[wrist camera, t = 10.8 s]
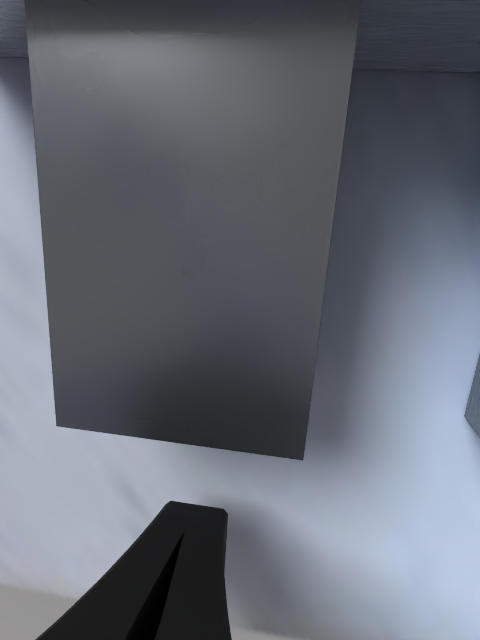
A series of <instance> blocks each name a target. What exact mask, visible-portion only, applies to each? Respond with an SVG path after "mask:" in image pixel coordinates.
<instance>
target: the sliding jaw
mask: <svg viewBox="0 0 480 640" xmlns="http://www.w3.org/2000/svg"><path fill="white" fill-rule="evenodd" d="M0 56H1V57H29V69H30V82H31V95H32V109H33V122H34V135H35V148H36V162H37V175H38V188H39V201H40V214H41V228H42V241H43V254H44V267H45V281H46V294H47V307H48V320H49V333H50V347H51V360H52V373H53V386H54V400H55V413H56V426H59V427H67V428H74V429H81V430H88V431H96V432H103V433H110V434H117V435H124V436H132V437H139V438H146V439H153V440H160V441H168V442H175V443H182V444H189V445H196V446H204V447H211V448H218V449H225V450H232V451H240V452H247V453H254V454H261V455H269V456H276V457H283V458H290V459H297V460H303V457H304V449H305V441H306V433H307V425H308V418H309V410H310V402H311V394H312V386H313V378H314V370H315V362H316V354H317V346H318V338H319V330H320V322H321V314H322V307H323V299H324V291H325V283H326V275H327V267H328V259H329V251H330V243H331V235H332V227H333V219H334V211H335V203H336V196H337V188H338V180H339V172H340V164H341V156H342V148H343V140H344V132H345V124H346V116H347V108H348V100H349V92H350V85H351V77H352V69H353V68H356V69H385V70H415V71H444V72H474V73H480V0H0Z"/></svg>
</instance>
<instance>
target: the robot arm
mask: <svg viewBox="0 0 480 640" xmlns="http://www.w3.org/2000/svg"><path fill="white" fill-rule="evenodd" d="M227 521H228V514H227V512H226V511H225V510H224V509H221V508H214V507H208V506H201V505H195V504H188V503H181V502H175V501H170V502H168V503H167V504H166V505H165V506H164V507H163V509H162V510H161V511H160V512H159V514H158V515H157V516H156V517H155V518H154V520H153V521H152V522H151V523H150V525H149V526H148V527H147V528H146V529H145V530H144V532H143V533H142V534H141V535H140V536H139V537H138V538H137V540H136V541H135V542H134V543H133V544H132V545H131V546H130V548H129V549H128V550H127V551H126V552H125V553H124V554H123V555H122V556H121V557H120V558H119V559H118V560H117V562H116V563H115V564H114V565H113V566H112V567H111V568H110V569H109V570H108V571H107V572H106V573H105V574H104V575H103V576H102V578H101V579H100V580H99V581H98V582H97V583H96V584H95V585H93V586H92V587H91V588H90V589H89V590H88V591H87V592H86V593H85V594H84V595H83V596H82V597H81V598H80V599H79V600H78V601H77V602H76V603H75V604H74V605H73V606H72V607H71V608H70V609H69V610H68V611H67V612H66V613H65V614H64V615H63V616H62V617H60V618H59V619H58V620H57V621H56V622H55V623H54V624H53V625H52V626H51V627H49V628H48V629H47V630H46V631H45V632H44V633H43V634H42V635H40V636H39V637H38V638H37V639H36V640H231V633H230V626H229V618H228V610H227V601H226V589H225V577H224V568H225V553H226V537H227Z"/></svg>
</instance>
